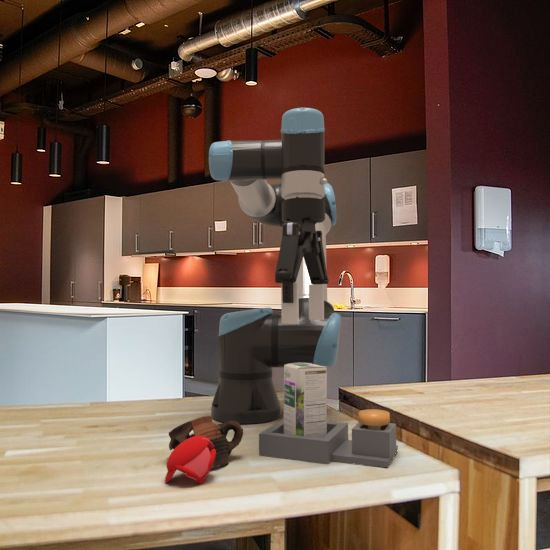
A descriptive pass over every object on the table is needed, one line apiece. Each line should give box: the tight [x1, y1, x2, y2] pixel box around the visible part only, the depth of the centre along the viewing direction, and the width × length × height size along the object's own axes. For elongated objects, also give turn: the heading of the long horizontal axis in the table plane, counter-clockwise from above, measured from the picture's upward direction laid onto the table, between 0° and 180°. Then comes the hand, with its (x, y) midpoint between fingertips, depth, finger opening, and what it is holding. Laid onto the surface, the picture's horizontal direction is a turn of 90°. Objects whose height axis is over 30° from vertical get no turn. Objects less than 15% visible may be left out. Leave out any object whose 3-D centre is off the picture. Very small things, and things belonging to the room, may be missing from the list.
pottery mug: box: [168, 415, 244, 470], centre depth 85 cm, size 12×10×8 cm
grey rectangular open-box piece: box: [258, 418, 399, 468], centre depth 89 cm, size 21×12×5 cm, turn 67°
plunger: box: [358, 408, 391, 430], centre depth 86 cm, size 5×5×6 cm
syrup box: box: [283, 363, 328, 438], centre depth 91 cm, size 6×6×14 cm
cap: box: [164, 436, 216, 484], centre depth 77 cm, size 8×6×6 cm
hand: (304, 321), depth 91 cm, fingers open, 13 cm apart
